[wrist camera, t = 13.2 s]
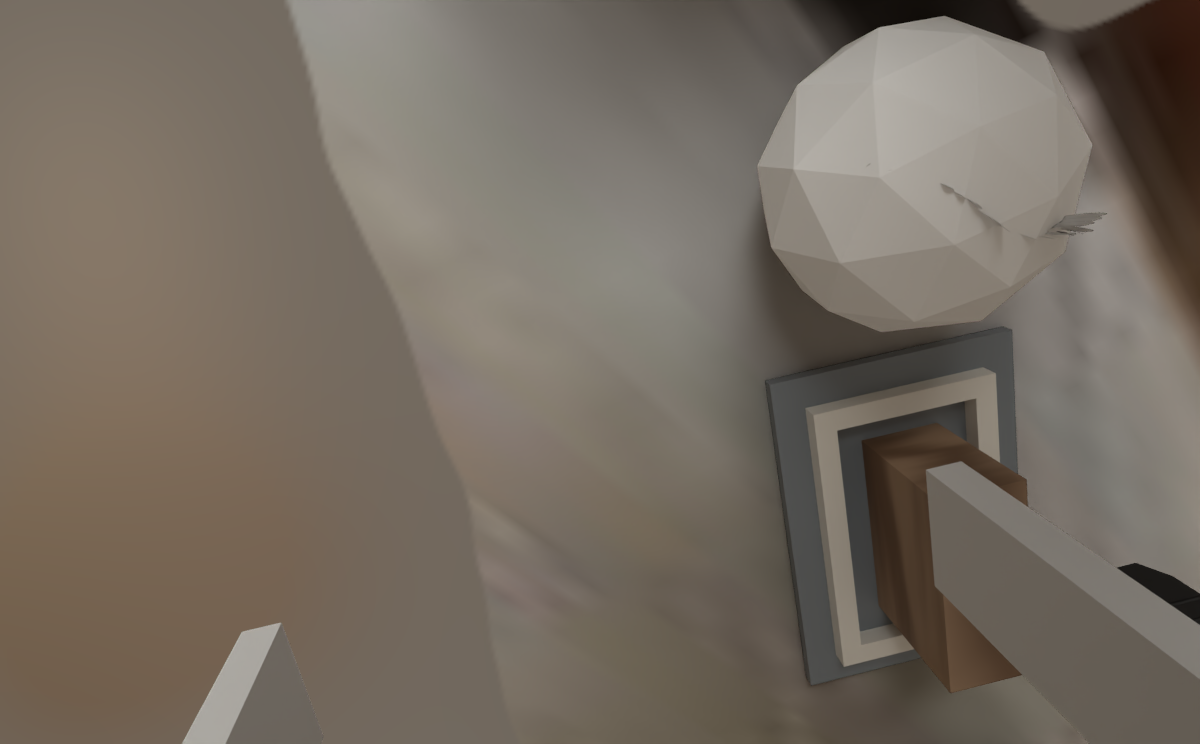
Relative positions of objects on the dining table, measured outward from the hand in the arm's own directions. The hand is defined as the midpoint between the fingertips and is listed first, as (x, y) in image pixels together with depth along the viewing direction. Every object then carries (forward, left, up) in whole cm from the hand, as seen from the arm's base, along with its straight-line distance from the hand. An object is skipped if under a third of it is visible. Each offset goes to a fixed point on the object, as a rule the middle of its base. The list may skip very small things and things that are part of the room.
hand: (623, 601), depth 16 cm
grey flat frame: (+16, +18, -27) cm, 36 cm away
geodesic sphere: (-4, +17, -27) cm, 32 cm away
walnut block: (+16, +18, -26) cm, 35 cm away
